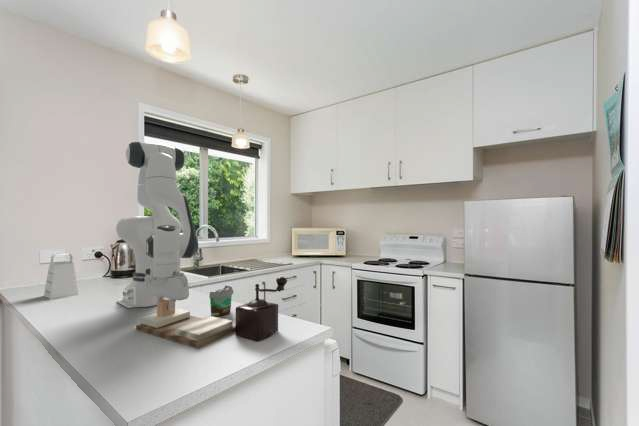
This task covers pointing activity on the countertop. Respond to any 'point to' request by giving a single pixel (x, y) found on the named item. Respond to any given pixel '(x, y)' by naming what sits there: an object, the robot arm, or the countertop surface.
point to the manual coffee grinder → (258, 316)
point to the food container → (221, 301)
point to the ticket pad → (173, 337)
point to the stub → (164, 315)
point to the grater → (61, 279)
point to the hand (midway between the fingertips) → (166, 309)
